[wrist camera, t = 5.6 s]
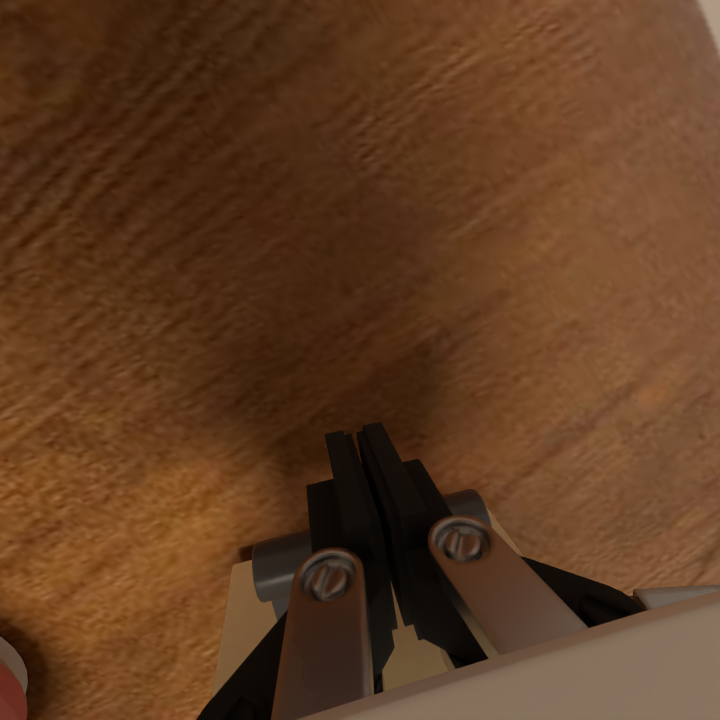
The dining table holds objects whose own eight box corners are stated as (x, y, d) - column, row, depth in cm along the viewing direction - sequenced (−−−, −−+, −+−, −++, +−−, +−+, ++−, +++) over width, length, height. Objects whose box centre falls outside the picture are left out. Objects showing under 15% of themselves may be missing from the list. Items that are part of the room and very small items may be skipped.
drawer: (204, 477, 15) (137, 674, 8) (477, 415, 17) (612, 539, 10) (295, 756, 21) (299, 1009, 14) (492, 693, 22) (584, 894, 16)
